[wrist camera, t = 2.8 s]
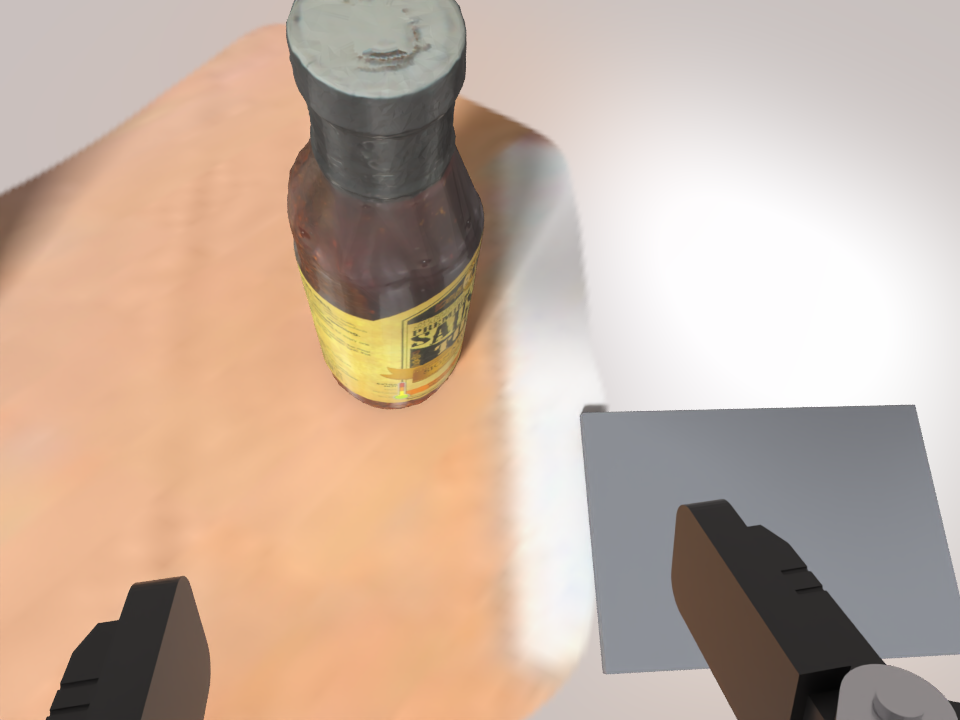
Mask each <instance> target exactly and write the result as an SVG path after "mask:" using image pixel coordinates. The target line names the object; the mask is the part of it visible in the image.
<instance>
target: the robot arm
mask: <svg viewBox="0 0 960 720" xmlns="http://www.w3.org/2000/svg"><path fill="white" fill-rule="evenodd" d="M671 583H672V590H673V594H674V598H675V602H676V605H677V607H678V610H679V612H680V614H681V616H682V617H683V619H684V621H685V623H686V625H687V627H688V629H689V630H690V632H691V634H692V636H693V638H694V640H695V642H696V643H697V645H698V647H699V649H700V651H701V653H702V655H703V656H704V658H705V660H706V662H707V664H708V666H709V668H710V669H711V671H712V673H713V675H714V677H715V678H716V680H717V682H718V684H719V686H720V688H721V690H722V692H723V693H724V695H725V697H726V699H727V701H728V703H729V705H730V706H731V708H732V710H733V712H734V714H735V716H736V717H737V719H738V720H960V703H959V702H953V701H949V700H947V699H946V698H945V697H944V695H943V694H942V693H941V692H940V691H939V690H938V689H937V688H935V687H934V686H933V685H931V684H930V683H929V682H927V681H926V680H924V679H923V678H921V677H919V676H917V675H915V674H913V673H911V672H909V671H907V670H904V669H901V668H898V667H894V666H890V665H886V664H885V663H884V662H883V661H882V659H881V658H880V657H879V655H878V654H877V653H876V652H875V650H874V649H873V648H872V647H871V645H870V644H869V643H868V642H867V640H866V639H865V638H864V637H863V635H862V634H861V633H860V632H859V630H858V629H857V628H856V627H855V625H854V624H853V623H852V622H851V620H850V619H849V618H848V617H847V615H846V614H845V613H844V612H843V610H842V609H841V608H840V607H839V605H838V604H837V603H836V602H835V600H834V599H833V598H832V597H831V595H830V594H829V593H828V592H827V590H826V591H824V590H823V585H822V584H821V583H820V582H819V580H818V579H817V578H816V577H815V575H814V574H813V573H812V572H811V571H808V569H807V565H806V564H805V563H804V562H803V560H802V559H801V558H800V557H799V555H798V554H797V553H796V552H795V550H794V549H793V548H792V547H791V545H790V544H789V543H788V542H786V541H785V540H783V539H782V538H780V537H779V536H777V535H776V534H774V533H773V532H771V531H770V530H768V529H767V528H765V527H764V526H762V525H755V526H748V527H747V525H746V524H745V523H744V521H743V520H742V519H741V517H740V516H739V515H738V513H737V512H736V511H735V509H734V508H733V507H732V505H731V504H730V503H729V502H728V501H727V500H725V499H718V500H711V501H704V502H697V503H691V504H684V505H680V506H679V508H678V510H677V514H676V523H675V535H674V546H673V557H672V568H671ZM60 686H61V688H60V690H58V691H57V693H56V696H55V698H54V701H53V703H52V706H51V708H50V716H49V717H47V718H46V720H203V719H204V714H205V708H206V703H207V698H208V692H209V686H210V655H209V648H208V644H207V640H206V637H205V634H204V630H203V627H202V623H201V620H200V616H199V613H198V610H197V606H196V603H195V599H194V596H193V592H192V589H191V586H190V583H189V581H188V579H187V578H186V577H185V576H180V577H173V578H166V579H159V580H153V581H146V582H139V583H135V584H133V585H132V586H131V588H130V590H129V593H128V596H127V598H126V601H125V604H124V607H123V610H122V613H121V616H120V619H119V620H117V621H110V622H103V623H98V624H97V625H96V626H95V627H94V629H93V630H92V631H91V632H90V633H89V634H88V635H87V637H86V638H85V639H84V640H83V641H82V642H81V644H80V645H79V646H78V647H77V648H76V649H75V650H74V652H73V653H72V656H71V658H70V661H69V663H68V666H67V668H66V671H65V673H64V676H63V678H62V681H61V683H60Z"/></svg>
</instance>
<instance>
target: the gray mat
mask: <svg viewBox="0 0 960 720" xmlns="http://www.w3.org/2000/svg"><path fill="white" fill-rule="evenodd" d="M580 423H581V434H582V445H583V457H584V468H585V479H586V490H587V501H588V512H589V523H590V535H591V546H592V557H593V568H594V579H595V590H596V602H597V613H598V623H599V635H600V646H601V656H602V668H603V673H604V674H619V673H636V672H655V671H670V670H671V671H673V670H690V669H708V668H709V666H708V664H707V662H706V660H705V658H704V656H703V655H702V653H701V651H700V649H699V647H698V645H697V643H696V642H695V640H694V638H693V636H692V634H691V632H690V630H689V629H688V627H687V625H686V623H685V621H684V619H683V617H682V616H681V614H680V612H679V610H678V607H677V605H676V602H675V598H674V594H673V590H672V583H671V568H672V557H673V546H674V535H675V523H676V514H677V510H678V508H679V506H680V505H684V504H691V503H697V502H704V501H711V500H718V499H725V500H727V501H728V502H729V503H730V504H731V505H732V507H733V508H734V509H735V511H736V512H737V513H738V515H739V516H740V517H741V519H742V520H743V521H744V523H745V524H746V525H747V527H748V526H755V525H762V526H764V527H765V528H767V529H768V530H770V531H771V532H773V533H774V534H776V535H777V536H779V537H780V538H782V539H783V540H785V541H786V542H788V543H789V544H790V545H791V547H792V548H793V549H794V550H795V552H796V553H797V554H798V555H799V557H800V558H801V559H802V560H803V562H804V563H805V564H806V565H807V569H808V571H811V572H812V573H813V574H814V575H815V577H816V578H817V579H818V580H819V582H820V583H821V584H822V585H823V590H824V591H826V590H827V592H828V593H829V594H830V595H831V597H832V598H833V599H834V600H835V602H836V603H837V604H838V605H839V607H840V608H841V609H842V610H843V612H844V613H845V614H846V615H847V617H848V618H849V619H850V620H851V622H852V623H853V624H854V625H855V627H856V628H857V629H858V630H859V632H860V633H861V634H862V635H863V637H864V638H865V639H866V640H867V642H868V643H869V644H870V645H871V647H872V648H873V649H874V650H875V652H876V653H877V654H878V655H879V657H880V658H881V659H885V658H902V657H920V656H938V655H955V654H960V595H959V591H958V587H957V582H956V578H955V574H954V570H953V565H952V561H951V557H950V552H949V549H948V544H947V540H946V536H945V531H944V527H943V523H942V518H941V514H940V510H939V505H938V501H937V497H936V493H935V488H934V484H933V480H932V476H931V471H930V467H929V463H928V459H927V455H926V450H925V446H924V442H923V437H922V433H921V429H920V425H919V421H918V416H917V412H916V407H915V405H885V406H843V407H802V408H761V409H760V408H759V409H719V410H718V409H717V410H676V411H636V412H635V411H633V412H590V413H582V414H581V415H580Z"/></svg>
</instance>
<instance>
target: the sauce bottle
mask: <svg viewBox="0 0 960 720" xmlns="http://www.w3.org/2000/svg"><path fill="white" fill-rule="evenodd" d="M286 38H287V43H288V47H289V52H290V61H291V64H292V68H293V75H294V78H295V82H296V85H297V87H298V89H299V91H300V93H301V95H302V96H303V98H304V99H305V101H306V103H307V106H308V110H309V115H310V122H311V126H310V139H309V142H308V143H307V144H306V145H305V147H304V148H303V149H302V150H301V151H300V152H299V154H298V156H297V158H296V161H295V163H294V165H293V166H292V168H291V170H290V177H289V183H288V197H287V208H288V211H287V212H288V218H289V223H290V227H291V231H292V234H293V238H294V250H295V256H296V260H297V264H298V267H299V271H300V275H301V278H302V282H303V285H304V289H305V292H306V295H307V299H308V302H309V306H310V309H311V313H312V317H313V321H314V325H315V328H316V332H317V335H318V338H319V342H320V345H321V349H322V353H323V356H324V359H325V361H326V363H327V365H328V367H329V368H330V370H331V371H332V373H333V376H334V378H335V379H336V380H337V381H338V383H339V385H340V386H342V387H343V388H344V389H345V390H346V391H347V392H349V393H350V394H351V395H352V396H354V397H355V398H357V399H358V400H360V401H362V402H363V403H366V404H368V405H371V406H373V407H377V408H382V409H400V408H405V407H409V406H412V405H415V404H419V403H421V402H423V401H425V400H426V399H427V398H429V397H430V396H431V395H433V394H434V393H435V392H436V391H437V390H438V389H439V388H440V387H441V385H442V384H443V383H444V382H445V381H446V380H447V379H448V376H449V375H450V374H451V372H452V371H453V369H454V367H455V365H456V363H457V361H458V359H459V356H460V353H461V348H462V343H463V338H464V333H465V327H466V322H467V317H468V311H469V306H470V300H471V295H472V290H473V286H474V280H475V273H476V267H477V262H478V256H479V252H480V247H481V241H482V235H483V229H484V212H483V206H482V203H481V200H480V197H479V195H478V193H477V192H476V190H475V188H474V186H473V184H472V181H471V179H470V177H469V175H468V172H467V170H466V168H465V166H464V163H463V161H462V159H461V157H460V154H459V152H458V150H457V148H456V145H455V138H456V136H455V131H454V127H453V114H454V106H455V100H456V98H457V96H458V94H459V92H460V90H461V88H462V86H463V83H464V80H465V72H466V27H465V22H464V19H463V16H462V13H461V9H460V6H459V5H458V4H457V2H456V1H455V0H295V1H294V3H293V6H292V9H291V11H290V15H289V17H288V20H287V22H286Z"/></svg>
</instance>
